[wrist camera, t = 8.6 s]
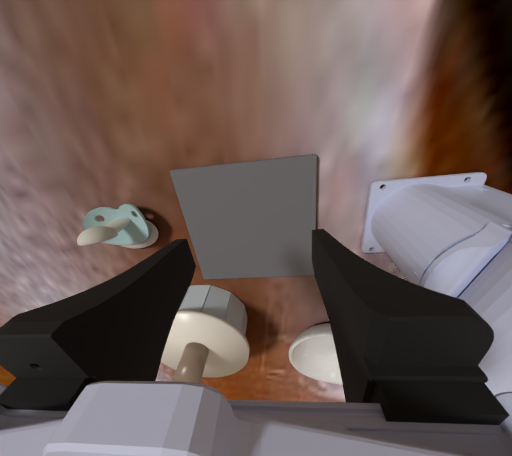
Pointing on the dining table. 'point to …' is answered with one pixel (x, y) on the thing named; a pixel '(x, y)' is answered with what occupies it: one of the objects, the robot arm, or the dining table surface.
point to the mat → (251, 216)
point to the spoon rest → (316, 354)
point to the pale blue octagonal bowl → (216, 304)
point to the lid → (204, 347)
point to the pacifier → (118, 227)
